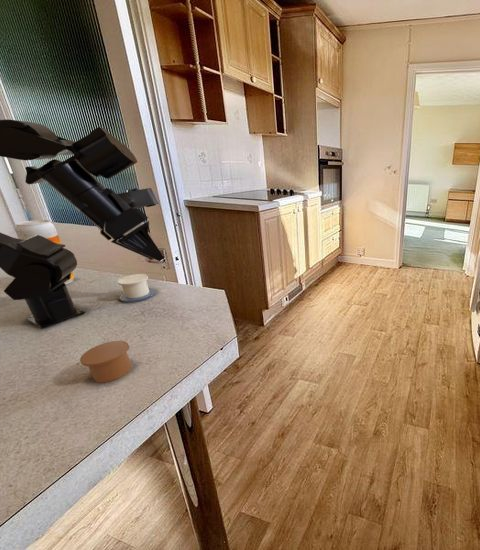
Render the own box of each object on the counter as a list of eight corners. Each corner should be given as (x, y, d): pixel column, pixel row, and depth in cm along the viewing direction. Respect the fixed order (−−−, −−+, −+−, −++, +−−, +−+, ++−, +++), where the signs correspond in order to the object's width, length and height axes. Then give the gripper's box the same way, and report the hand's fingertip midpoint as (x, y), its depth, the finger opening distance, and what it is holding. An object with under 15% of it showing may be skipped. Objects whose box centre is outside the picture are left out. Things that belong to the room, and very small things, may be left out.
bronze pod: (81, 378, 42) (71, 357, 41) (122, 356, 47) (115, 337, 45) (102, 390, 40) (92, 368, 39) (143, 366, 45) (136, 346, 43)
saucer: (114, 298, 64) (113, 296, 64) (144, 287, 70) (143, 285, 70) (131, 305, 62) (130, 302, 62) (161, 293, 67) (160, 291, 67)
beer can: (82, 279, 73) (59, 220, 67) (52, 289, 68) (24, 226, 62) (64, 276, 74) (41, 218, 69) (34, 285, 69) (5, 224, 63)
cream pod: (117, 296, 64) (111, 280, 63) (142, 287, 69) (138, 272, 68) (131, 301, 62) (126, 285, 61) (157, 291, 67) (153, 276, 65)
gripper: (134, 160, 49) (203, 233, 57) (123, 178, 62) (180, 235, 70) (66, 196, 44) (152, 271, 52) (69, 207, 57) (137, 266, 65)
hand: (157, 258), depth 60 cm, fingers open, 9 cm apart
